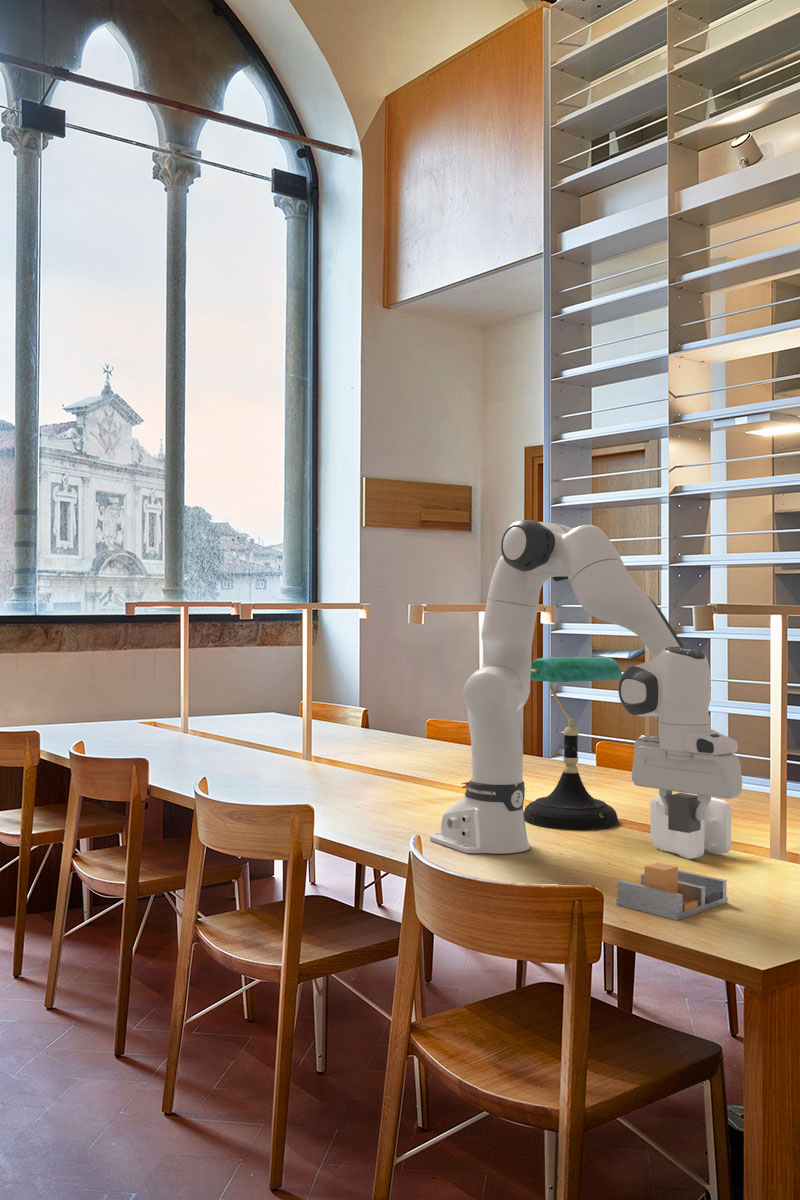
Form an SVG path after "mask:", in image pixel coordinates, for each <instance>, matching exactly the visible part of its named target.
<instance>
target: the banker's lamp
mask: <svg viewBox="0 0 800 1200" xmlns="http://www.w3.org/2000/svg"><path fill="white" fill-rule="evenodd" d="M622 674H623V673H622V671H621V668H620V666H619V663H618V661H617V660H616V659H613V658H611V657H609V656H608V657H607V656H572V657H571V656H570V657H569V656H567V657H566V656H565V657H563V656H562V657H553V656H552V657H540V658H539V657H538V658H537V659H536V658H535V660H533V661H532V662H531V677H530V681H535V682H537V681H538V682H547V683H548V682H549V683H548V687H549V691H550V693H551V694H552V696H553V698H554V699H555V701H556V702H557V704H558V705H559V707H560V709H561V710H562V711H563V714H564V715H565V717H566V719H567V720H568V721H567V724H568V725H567V726H566V727H565V728H564V730H563V736H564V737H563V738H564V739H563V759H562V760H563V763H564V764H565V765H564V767H562V768H563V769H562V773H561V776H560V777H559V780H558V782H557V784H556V786H555V787H554V789H553V791H551V793H550V794H548V795H547V796H541V797H539V798H536V799H535V800H533V801H531V802H530V803H528V804H527V805H526V806H525V808H524V809H523V811H524V820H525V822H527V823H528V824H532V825H534V826H537V827H543V828H548V829H557V830H571V831H572V830H573V831H591V830H592V829H593V831H594V830H602V829H609V828H611V827H614V826H616V825H618V823H619V819H618V814H617V812H616V810H615V809H614V808H613V806H611V805H609V804H607V803H606V802H605V801H604V800H602V799H601V800H600V799H597V798H594V797H593V796H592V795H591V794H590V793H589V792H588V790H587V789H586V787H585V785H584V783H583V781H582V777H581V776H580V772H579V768H578V766H577V764H578V762H579V756H578V755H579V754H578V747H579V745H578V744H579V741H578V739H579V730H578V728H577V727H575V725H574V724H575V720H574V718H572V717H571V715H570V714H569V713H568V711H567V710H566V708H565V706H564V705H563V703H562V701H561V699H560V698H559V697H558V695H557V694H556V692H555V690H554V688H553V684H554V683H573V682H574V683H576V682H577V683H578V682H579V683H580V682H604V681H606V682H607V681H620V678H621V676H622Z"/></svg>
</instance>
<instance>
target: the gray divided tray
mask: <svg viewBox="0 0 800 1200" xmlns="http://www.w3.org/2000/svg"><path fill="white" fill-rule="evenodd" d="M644 879H645V873H642V874H640V883H636V882H632V881H629V880H624V879H620V880H618V881H617V898H616V903H615V904H616V906H619V905H620V907H623V908H628V909H632V910H636V911H639V912H644V913H646V914H650V915H654V916H657V917H658V916H660V917H662V918H667V919H670V920H674V921H680V920H683V919H685V918H688V917H691V916H694V915H697V914H699V913H703V912H705V911H708V910H710V909H714V908H717V907H720V906H723V905H725V904H728V897H729V896H727V879H723V878H717V877H714V876H708V875H703V874H699V873H695V872H690V871H685V870H681V869H678V893H675V892H671V891H667V890H662V889H658V888H654V887H650V886H645V885H644Z"/></svg>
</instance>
